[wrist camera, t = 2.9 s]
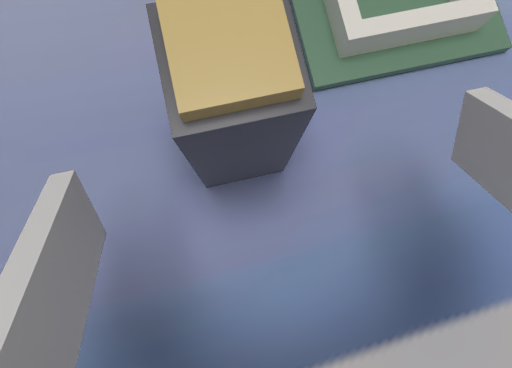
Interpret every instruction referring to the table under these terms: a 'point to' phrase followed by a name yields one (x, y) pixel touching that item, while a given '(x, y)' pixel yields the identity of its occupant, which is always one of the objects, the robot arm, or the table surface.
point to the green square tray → (393, 36)
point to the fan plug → (232, 84)
